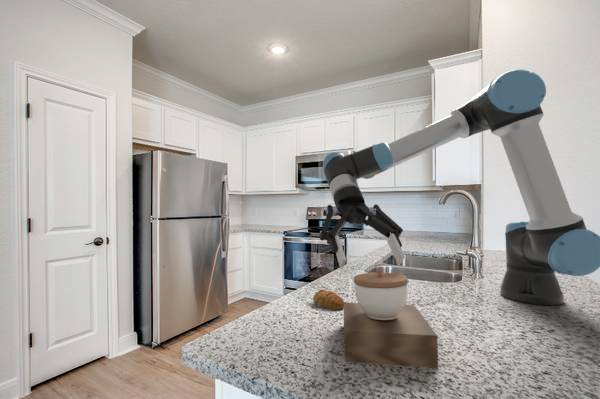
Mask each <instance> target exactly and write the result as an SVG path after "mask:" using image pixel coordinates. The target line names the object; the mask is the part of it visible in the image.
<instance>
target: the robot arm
mask: <svg viewBox="0 0 600 399" xmlns="http://www.w3.org/2000/svg"><path fill="white" fill-rule="evenodd" d="M546 95H547V87H546V84H545V82H544V80H543V79H542V77H541V76H540V75H538V74H537V73H536V72H533V71H529V70H527V69H521V68H520V69H518V68H517V69H512V70H508V71H506V72H504V73H502V74H501V75H499V76H497V77H496V78H494V79H492V81H491V82H490V83H489V84H488V85H487V86H486V87H485V88H483V89H481V91H480V92H478V93H477V94H476V95H475V96H473V97H472V98H471V99H470V100H469V101H467V102H466V103H464V104H463V105H461V106H460V107H457V108H456V109H453V110H452V111H451V112H450V114H449V115H448V116H446V117H444V118H442V119H440V120H438V121H435V122H433V123H431V124H429V125H426V126H425V127H422V128H420V129H418V130H416V131H414V132H412V133H409V134H407V135H406V136H403V137H400V138H399V139H396V140H394V141H392V142H390V143H388V144H387V143H386V142H380V143H377V144H373V145H371V146H369V147H366V148H363V149H360V150H358V151H356V152H353V153H350V154H346V155H344V154H343V153H342V152H335V151H334V152H331V153H328V154H327V155H326V156H325V157H324V159H323V161H322V169H323V174H324V177H325V179H326V182H327V186H328V187H329V191H330V193H331V196H332V199H333V202H334V205H335V207H333V205H332V204H328V205H327V207H326V211H325V220H324V222H323V226H322V228H321V231H320V235H319V240H320V241H326V244H327V245H329V248H330V251H331V253H335V254H336V258H337V261H338V265H339V267H340V268H344V266H345V264H346V261H347V258H346V254H345V252H344V248H343V245H342V242H341V239H340V236H339V235H338V234H339V233H340V231H341V230H343V227H345V225H346V224H347V223H348V224H350V225H351V224H352V225H353V224H363V225H365V226H367V227H368V226H369V227H370V228H372V229H374V230H375V231H376V232H378V233H380V234H381V235H383V236H384V237H385V238H388V239H387V240H386V242H387V244H388V247H389V248H390V250H391V253H392V255H393V257H394V260H395V261H396V264H397V265H401V264H402V263H403V261H404V259H405V258H406V255H405V253H404V251H403V249H402V248H401V247H402V246H403V244H402V242H401V240H400V236H401V235H402V233H403V231H404V229H403V227H401V226H400V225H398V224H397V222H395V221H394V220H393V219H392V218H391V217H390V216H389V215H387V214H386V213H385V212H384V211H382V209H381V208H380V205H378V204H373V206H371V207H369V206H368V205H367V204H366V202H365V197H364V195H363V194H362V191H361V190H360V187H359V185H358V182H357V180H359V179H361V178H362V179H365V180H368V179H372V178H374V177H375V176H377V175H379V174H381V173H383V172H385V171H387V170H389V169H392V168H395V167H396V166H399V165H401V164H403V163H406V162H408V161H410V160H412V159H414V158H416V157H419V156H421V155H423V154H425V153H428V152H430V151H432V150H434V149H436V148H439V147H441V146H444V145H445V144H448V143H450V142H453V141H454V140H457V139H458V138H461V139H467V138H468V137H471V136H474V135H476V134H479V133H482V132H485V131H489V130H490V132H491V134H492V135H494V136H495V135H496V136H497V137H499V138H500V140H501V144H502V146H503V148H504V152H505V154H506V157H507V160H508V162H509V165H510V167H511V170H512V173H513V176H514V179H515V182H516V185H517V187H518V189H519V193H520V195H521V197H522V201H523V203H524V206H525V209H526V212H527V214H528V216H529V220H527V221H526V220H525V221H513V222H512V221H511V222H508V223H507V224H506V226H505V233H504V236H505V255H506V257H505V258H506V259H505V260H506V269H505V270H506V271H505V273H504V275H503V276H504V277H503V279H502V283H501V284H500V295H501V296H503V297H505V298H507V299H510V300H513V301H516V302H522V303H524V304H525V303H526V304H532V305H539V306H540V305H541V306H560V305H563V304H564V302H565V300H564V298H565V297H564V292H563V291H562V289H561V286H560V283H559V281H558V279H557V276H556V273H557V274H561V275H566V276H572V277H581V276H582V277H583V276H588V275H591V274H592V273H595V272H596V271H597V270H598V269H600V235H599V234H598V233H595V232H594V231H592V230H590V229H587V226H586V224H585V221H584V218H583V217H582V216H581V215H579V214H576V213H574V212H573V211H572V210H571V206H570V202H569V201H568V198H567V196H566V194H565V191H564V188H563V185H562V183H561V180H560V176H559V175H558V172H557V169H556V166H555V163H554V161H553V159H552V156H551V155H552V154H551V153H550V150H549V148H548V145H547V142H546V140H545V137H544V135H543V132H542V129H541V126H540V122H541V120H542V119H543V117H544V116H545V115H544V112H543V109H542V106H541V104H542V103H543V101H544V100H545V99H544V98H545V97H546ZM335 215H337V216H338V217H340V218H339V220H338V221H337V222H336V224H335V225H334V226H333V228H332V229H331V230H330V232H329V231H328V230H329V226H330V223H331V221H332V218H333V217H334V216H335ZM366 218H367V219H366Z"/></svg>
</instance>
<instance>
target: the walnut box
mask: <svg viewBox="0 0 600 399" xmlns="http://www.w3.org/2000/svg"><path fill="white" fill-rule="evenodd" d="M343 336H344V362H346V363H361V364H374V365H375V364H376V365H391V366H402V367H403V366H404V367H405V366H406V367H417V368H418V367H420V368H435V369H436V368H437V369H438V368H439V352H438V350H439V348H438V347H439V346H438V345H439V343H438V334H437V333H436V332H435V331H434V328H432V326H431V325H430V324H429V322H428V321H427V320H426V318H425V317H424V316H423V315H422V313H421V311H419V309H418V308H417V306H416V305H415V304H406V305H405V307H404V309H403V310H402V312H401V313H400V314H398V317H397V318H395V319H392V320H376V319H372V318H370V317H368V316H367V313H365V312H364V311H363V310H362V308H361V307H360V305H359V303H358V302H345V301H344V307H343Z"/></svg>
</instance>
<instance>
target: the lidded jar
mask: <svg viewBox="0 0 600 399" xmlns="http://www.w3.org/2000/svg"><path fill="white" fill-rule="evenodd" d="M353 284H354V291H355V297H356V301H357V303H359V305H360V307H361V308H362V310H363V311H364V312H365V313H367V316H368V317H370V318H372V319H376V320H392V319H395V318H397V317H398V314H400V313H401V312H402V310H403V309H404V307H405V305H407V300H408V277H407V276H405V275H403V274H400V273H395V272H394V273H392V272H383V269H382V268H376V272H364V273H359V274H357V275H355V276H354V277H353Z"/></svg>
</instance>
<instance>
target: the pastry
mask: <svg viewBox="0 0 600 399" xmlns="http://www.w3.org/2000/svg"><path fill="white" fill-rule="evenodd" d="M312 299H313V302H314V304H315V305H316V306H319V307H321V308H324V309H328V310H332V311H333V310H340V309H344V302H345V301H344V299H343V297H341V296H340V295H339V294H337V293H336V292H333V291H331V290H325V289H319V290H318V291H316V293H315V294H314V296H313V298H312Z"/></svg>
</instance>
